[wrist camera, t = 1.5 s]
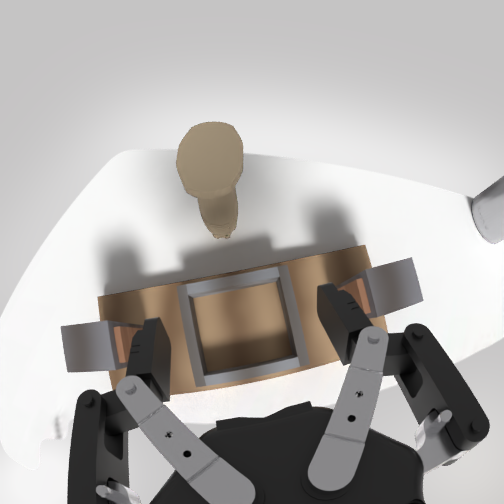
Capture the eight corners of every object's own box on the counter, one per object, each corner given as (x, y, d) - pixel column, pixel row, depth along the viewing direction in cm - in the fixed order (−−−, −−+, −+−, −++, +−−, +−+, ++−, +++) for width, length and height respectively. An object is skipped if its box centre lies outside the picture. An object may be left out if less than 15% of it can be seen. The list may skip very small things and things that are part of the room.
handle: (201, 253, 33) (171, 192, 18) (203, 203, 35) (182, 123, 20) (242, 253, 33) (242, 191, 19) (242, 203, 35) (243, 121, 20)
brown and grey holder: (358, 249, 34) (401, 215, 23) (382, 342, 30) (436, 341, 20) (105, 299, 31) (53, 282, 20) (121, 395, 28) (73, 416, 17)
